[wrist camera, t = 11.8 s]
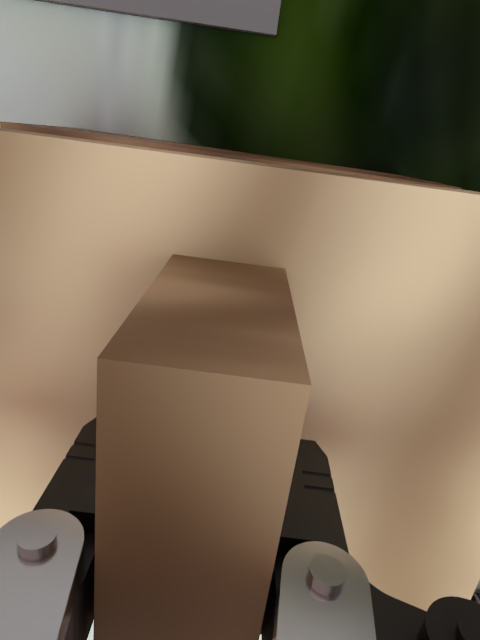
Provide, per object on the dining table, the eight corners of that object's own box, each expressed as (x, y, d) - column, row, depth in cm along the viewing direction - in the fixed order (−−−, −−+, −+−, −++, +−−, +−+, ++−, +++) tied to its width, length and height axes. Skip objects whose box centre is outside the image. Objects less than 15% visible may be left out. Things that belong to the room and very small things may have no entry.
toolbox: (400, 174, 23) (481, 192, 15) (346, 387, 27) (387, 488, 19) (-11, 115, 22) (-155, 100, 14) (2, 343, 26) (-102, 428, 18)
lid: (597, 208, 10) (1036, 294, 4) (443, 588, 15) (565, 880, 9) (-121, 111, 10) (-632, 71, 4) (-59, 527, 14) (-270, 787, 9)
